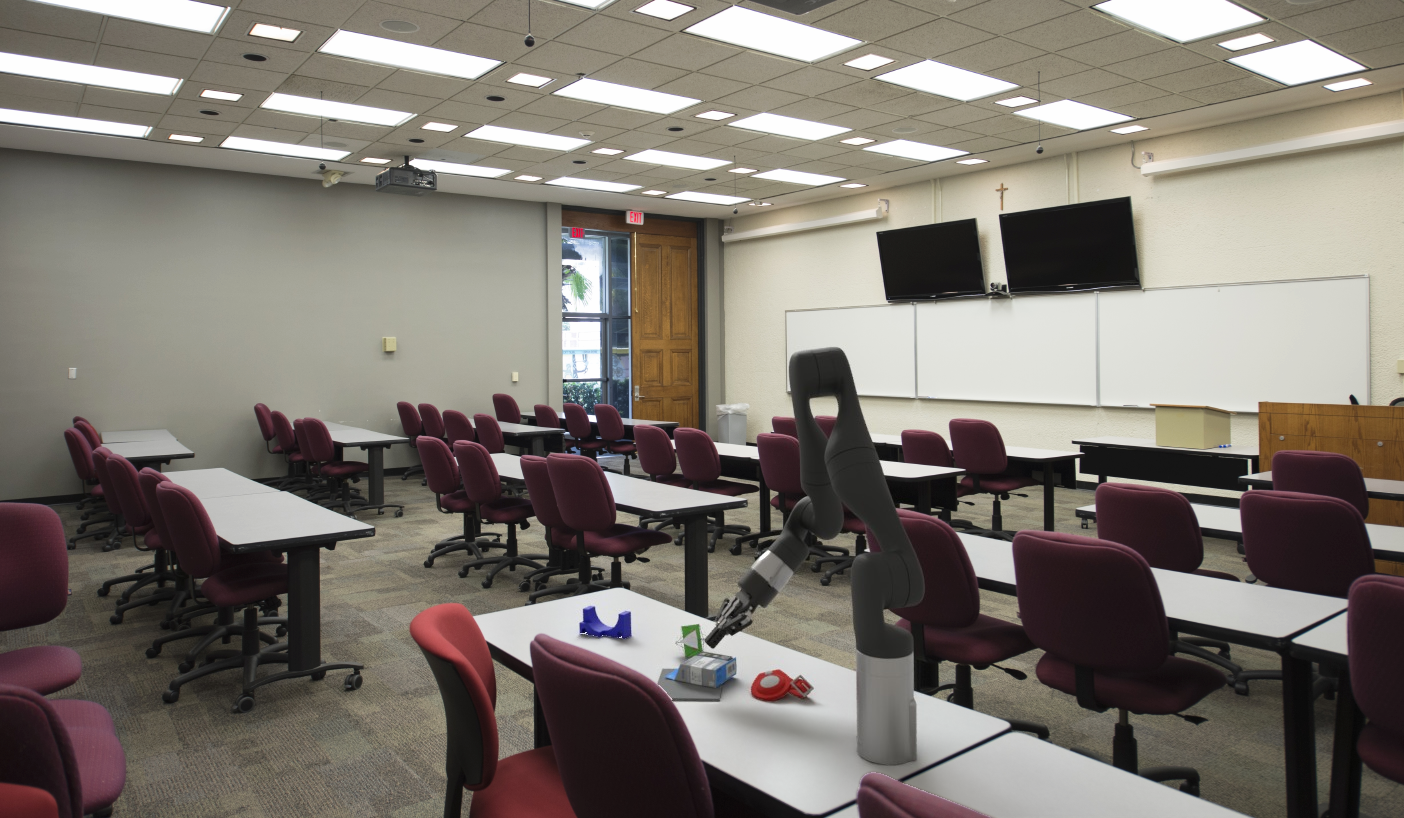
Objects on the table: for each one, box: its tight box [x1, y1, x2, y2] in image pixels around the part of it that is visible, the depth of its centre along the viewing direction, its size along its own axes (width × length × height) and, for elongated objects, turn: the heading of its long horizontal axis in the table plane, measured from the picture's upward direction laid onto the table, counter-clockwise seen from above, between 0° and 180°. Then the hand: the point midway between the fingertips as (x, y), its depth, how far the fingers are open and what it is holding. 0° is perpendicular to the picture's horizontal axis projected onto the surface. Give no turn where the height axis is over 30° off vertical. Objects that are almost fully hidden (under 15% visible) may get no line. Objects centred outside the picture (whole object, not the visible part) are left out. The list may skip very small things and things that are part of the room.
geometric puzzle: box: [674, 623, 707, 658], centre depth 190 cm, size 7×7×8 cm
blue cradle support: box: [578, 605, 632, 640], centre depth 206 cm, size 12×4×6 cm, turn 61°
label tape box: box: [665, 650, 738, 688], centre depth 176 cm, size 9×4×12 cm
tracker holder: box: [750, 668, 815, 702], centre depth 168 cm, size 12×4×10 cm
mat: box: [656, 668, 723, 702], centre depth 172 cm, size 13×16×1 cm
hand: (708, 645), depth 169 cm, fingers closed
